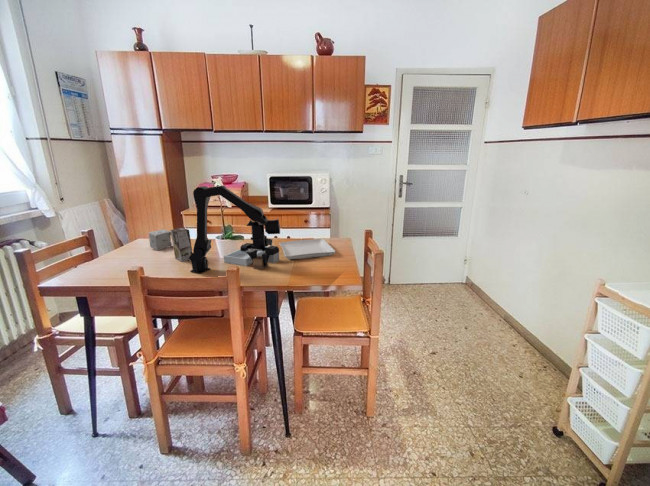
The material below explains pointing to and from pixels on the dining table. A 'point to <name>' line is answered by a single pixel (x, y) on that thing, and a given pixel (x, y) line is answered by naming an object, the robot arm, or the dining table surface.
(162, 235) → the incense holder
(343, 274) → the dining table surface
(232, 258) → the tray
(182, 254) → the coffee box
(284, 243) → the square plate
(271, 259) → the gauged block
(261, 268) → the walnut block
